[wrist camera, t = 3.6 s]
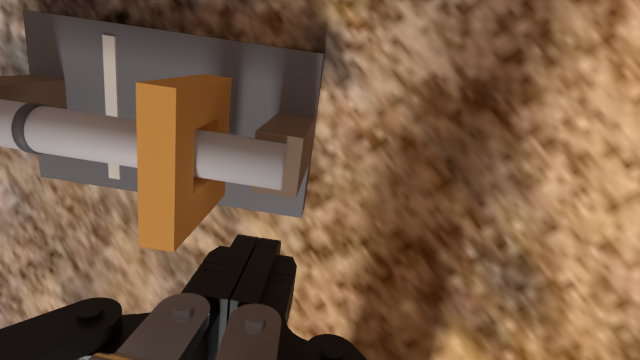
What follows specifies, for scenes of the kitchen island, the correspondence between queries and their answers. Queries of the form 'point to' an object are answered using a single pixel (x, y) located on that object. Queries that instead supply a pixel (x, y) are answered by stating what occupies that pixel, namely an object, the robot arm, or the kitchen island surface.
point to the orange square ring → (176, 155)
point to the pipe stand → (120, 107)
